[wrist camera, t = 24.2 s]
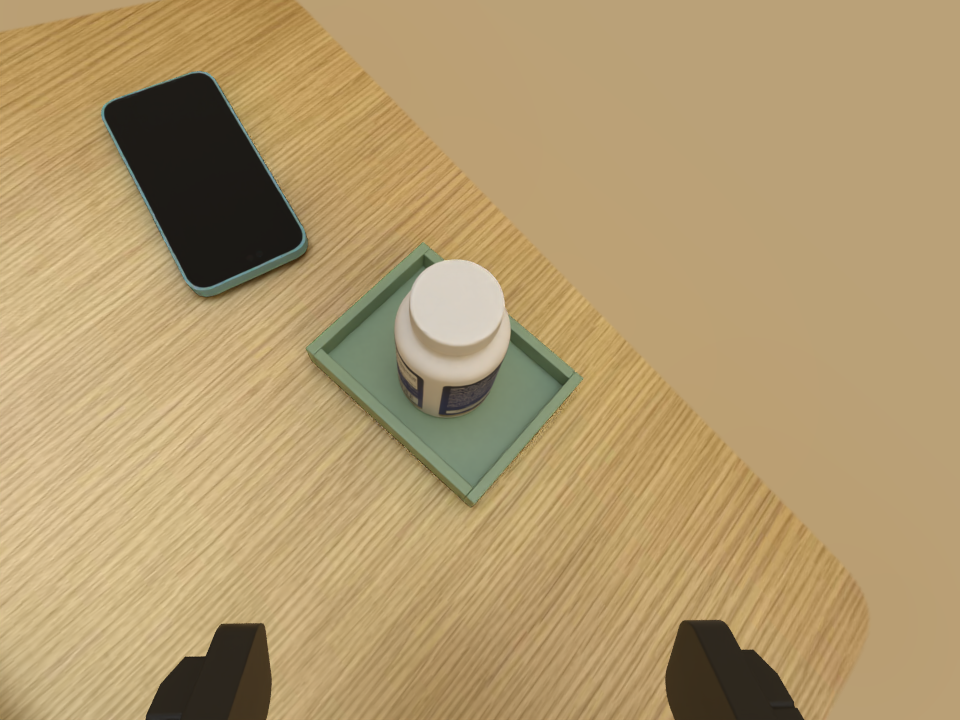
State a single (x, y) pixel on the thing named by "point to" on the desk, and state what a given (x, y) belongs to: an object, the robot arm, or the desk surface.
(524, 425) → the tray
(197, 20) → the desk surface
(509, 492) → the desk surface
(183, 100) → the smartphone
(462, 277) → the pill bottle
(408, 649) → the desk surface
